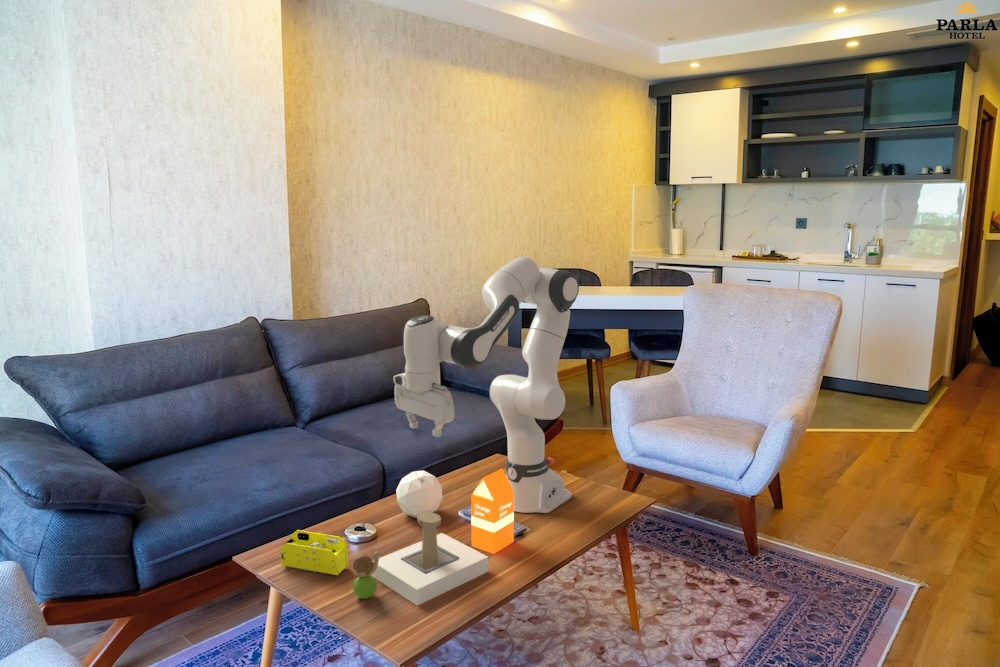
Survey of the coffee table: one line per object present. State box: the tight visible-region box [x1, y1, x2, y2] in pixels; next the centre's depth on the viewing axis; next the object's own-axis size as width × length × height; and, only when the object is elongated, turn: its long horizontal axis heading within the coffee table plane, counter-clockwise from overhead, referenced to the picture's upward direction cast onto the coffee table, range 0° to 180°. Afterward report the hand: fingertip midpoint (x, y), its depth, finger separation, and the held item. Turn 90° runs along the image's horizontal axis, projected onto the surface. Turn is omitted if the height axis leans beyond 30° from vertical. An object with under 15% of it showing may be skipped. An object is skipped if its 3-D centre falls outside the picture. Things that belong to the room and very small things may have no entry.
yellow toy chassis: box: [279, 529, 349, 576], centre depth 181 cm, size 16×6×8 cm, turn 72°
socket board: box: [371, 532, 489, 606], centre depth 178 cm, size 22×18×4 cm
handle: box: [416, 512, 442, 570], centre depth 177 cm, size 5×6×15 cm
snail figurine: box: [352, 546, 381, 600], centre depth 167 cm, size 5×6×12 cm
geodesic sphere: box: [395, 469, 444, 519], centre depth 210 cm, size 14×14×14 cm
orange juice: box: [470, 468, 515, 555], centre depth 192 cm, size 8×9×20 cm
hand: (425, 431), depth 187 cm, fingers open, 8 cm apart
